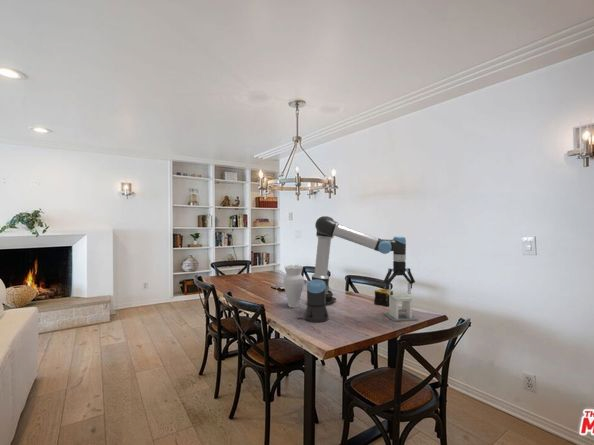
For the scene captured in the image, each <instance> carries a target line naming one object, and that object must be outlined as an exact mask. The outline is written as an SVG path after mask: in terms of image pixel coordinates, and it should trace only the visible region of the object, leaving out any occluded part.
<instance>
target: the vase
mask: <svg viewBox="0 0 594 445" xmlns="http://www.w3.org/2000/svg"><path fill="white" fill-rule="evenodd" d="M303 268H304V267H303V265H299V264H294V265H293V264H289V265H285V266H284V270H285V273H286V274H285V276H284V277H283V288H284V292H285V295H286V299H287V306H289V307H288V308H291V307H293V309H294V308H295V309H296V308H299V307H300V300H301V297H302V293H303V289H304V284H305V283H304V282H305V281H304V276H303V275H302V271H303Z"/></svg>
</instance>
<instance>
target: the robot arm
mask: <svg viewBox="0 0 594 445" xmlns="http://www.w3.org/2000/svg"><path fill="white" fill-rule="evenodd" d="M314 226H315V229H316V234H315V235H316V238H317V245H316V247H317V248H316V257H315V266H314V273H313V274H312V275H311V280H308V282H307V283H306V284H307V285H306V298H307V299H306V308H305V312H304V320H306V321H307V322H312V323H323V322H326V321H328V320H329V312H328V309H327V306H326V305H327V304H326V293H327V292H328V290H330V285H329V283H330V276H329V275H328V271H329V259H330V254H331V252H330V251H331V242H332V239H333V238H334V237H337V238H339V239H343V240H346V241H348V242H352V243H354V244H357V245H360V246H363V247H366V248H368V249H370V250H374V251H376V252H379V253H381V254H383V255H387V254H389V253H390V252H393V254H392V256H393V257H392V260H393V261H392V267H393V268H388V270H387V272H386V276H385V277H384V278H383V283H384V284H386V285H385V287H386V288H385V290H388V293H387V294H389V295H390V292H391V291H392V290H391V287H392V286H391V283H392V282H393V280H394V279H395V277H397V276H398V277H399V276H402V277H404V278H405V280H406V281H407V294H408V295H411V294H412V289H413V284H415V283H416V281H415V278H414V276H413V274H412V272H411V268H409V267H407V268H406V266H407V265H406V263H407V262H406V259H407V256H406V254H407V253H406V251H407V249H406V248H407V240H406V237H405V236H393V238H392V239H386V238H385V239H384V238H383V239H381V238H378V237H376V236H373V235H371V234H367V233H364V232H362V231H359V230H356V229H353V228H351V227H347V226H344V225H341V224H340V223H339V222H338V221H335V220H334V219H333V218H332V217H331V216H327V215H326V216H320V217H319V218H317V219H316V221H315V224H314ZM392 272H393V273H392ZM406 273H407V274H406Z"/></svg>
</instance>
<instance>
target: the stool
mask: <svg viewBox="0 0 594 445" xmlns="http://www.w3.org/2000/svg"><path fill="white" fill-rule="evenodd" d="M412 300H413V299H412V297H410V296H407V295H405V294H393V295H389V306H388V312H389V314H390V315H391V316H393V317H394V318H395V319H398V312H402V314H404V315H405V316H407V317H408V318H410V319H411V318H412V316H413V311H412V309H413V307H412V305H413V304H412V303H413V301H412ZM399 302H402V303H401V309H399Z"/></svg>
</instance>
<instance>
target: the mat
mask: <svg viewBox="0 0 594 445" xmlns="http://www.w3.org/2000/svg"><path fill="white" fill-rule="evenodd" d="M382 314H383V315H384V316H385V317H387V318H388V319H389V320H391V321H392V322H393V323H394V322H410V321H411V322H413V321H419V319H418V318H417V317H415V316H413V315H412V318H411V319H410V318H408V317H407V316H405V315H404V314H402V312H398V319H395V318H394V317H393V316H391V315H390V314H389V311H387V312H382Z"/></svg>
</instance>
